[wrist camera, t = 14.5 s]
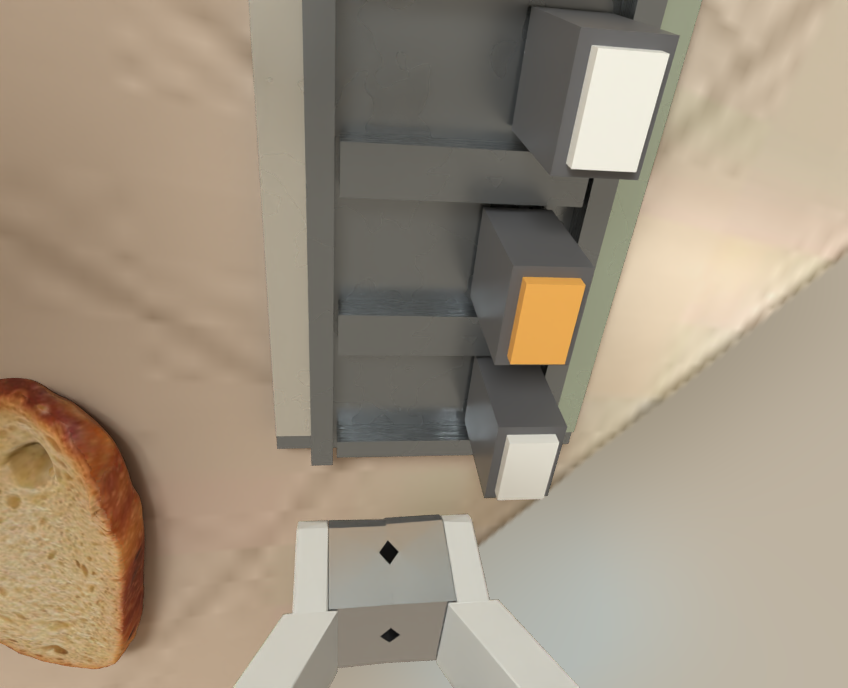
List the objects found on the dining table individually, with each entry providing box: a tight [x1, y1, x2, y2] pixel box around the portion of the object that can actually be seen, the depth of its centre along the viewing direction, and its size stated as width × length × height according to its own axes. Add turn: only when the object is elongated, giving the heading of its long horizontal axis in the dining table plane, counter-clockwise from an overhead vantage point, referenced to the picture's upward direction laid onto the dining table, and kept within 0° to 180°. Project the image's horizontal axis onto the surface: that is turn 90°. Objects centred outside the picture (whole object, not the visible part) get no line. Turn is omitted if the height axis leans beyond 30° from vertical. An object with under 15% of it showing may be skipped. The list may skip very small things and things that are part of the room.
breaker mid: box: [470, 207, 595, 365], centre depth 23 cm, size 4×3×6 cm
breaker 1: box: [464, 356, 567, 500], centre depth 27 cm, size 4×3×6 cm
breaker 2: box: [512, 6, 680, 180], centre depth 19 cm, size 4×3×6 cm
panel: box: [249, 0, 702, 466], centre depth 25 cm, size 22×15×2 cm
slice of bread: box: [0, 378, 145, 669], centre depth 32 cm, size 18×18×4 cm
